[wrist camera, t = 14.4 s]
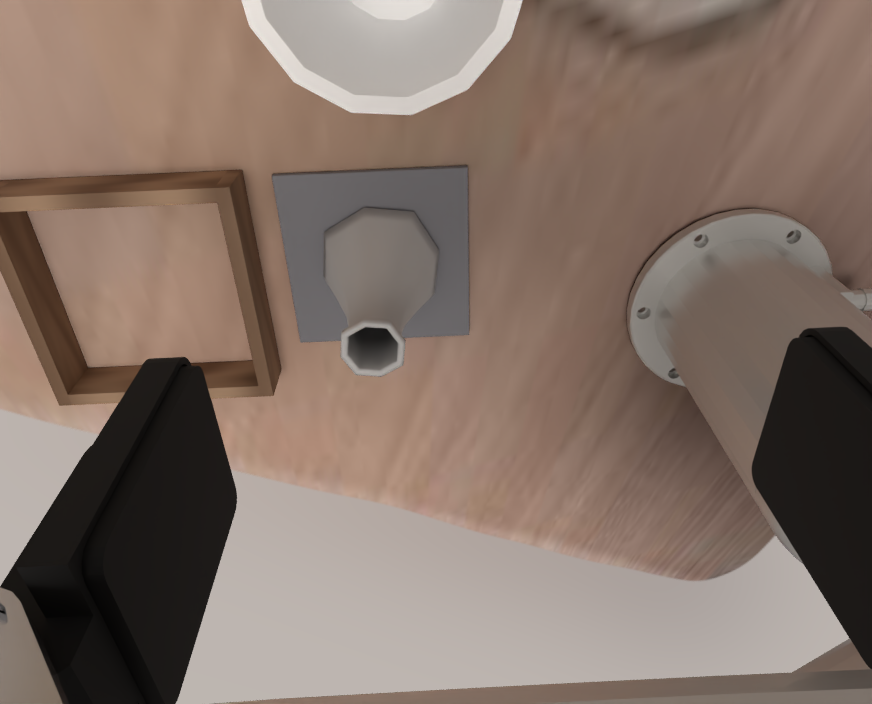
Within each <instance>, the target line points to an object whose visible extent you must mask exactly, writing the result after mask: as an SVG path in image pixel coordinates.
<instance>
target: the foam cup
mask: <svg viewBox="0 0 872 704" xmlns="http://www.w3.org/2000/svg"><path fill="white" fill-rule="evenodd" d="M522 1H523V0H242V3H243V7H244V10H245V13H246V17H247V20H248V23H249V26H250V28H251V29H252V30H253V31H254V33H255V34H256V35H257V36H258V38H259V39H260V40H261V41H262V43H263V44H264V45H265V47H266V48H267V49H268V50H269V52H270V53H271V54H272V55H273V57H274V58H275V59H276V60H277V62H278V63H279V64H280V65H281V67H282V68H283V69H284V70H285V72H286V73H287V74H288V75H289V77H290V78H291V79H292V80H293V82H294V83H296V84H298V85H300V86H302V87H304V88H306V89H308V90H309V91H311V92H313V93H315V94H317V95H319V96H321V97H323V98H324V99H326V100H328V101H330V102H332V103H334V104H336V105H338V106H339V107H341V108H343V109H345V110H347V111H349V112H351V113H371V114H395V115H413V114H415V113H418V112H420V111H422V110H424V109H426V108H429V107H431V106H433V105H435V104H437V103H440V102H442V101H444V100H446V99H449V98H451V97H453V96H455V95H457V94H460V93H462V92H464V91H466V90H468V89H469V88H470V86H471V85H472V84H473V83H474V82H475V81H476V79H477V78H478V77H479V76H480V75H481V73H482V72H483V71H484V70H485V69H486V68H487V66H488V65H489V64H490V63H491V62H492V61H493V59H494V58H495V57H496V56H497V55H498V53H499V52H500V51H501V50H502V49H503V48H504V46H505V45H506V44H507V43H508V42H509V40H510V39H511V37H512V33H513V30H514V27H515V24H516V20H517V17H518V14H519V11H520V8H521V4H522Z"/></svg>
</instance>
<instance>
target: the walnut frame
mask: <svg viewBox="0 0 872 704" xmlns="http://www.w3.org/2000/svg"><path fill="white" fill-rule="evenodd" d="M201 203H217V204H218V208H219V213H220V217H221V221H222V226H223V230H224V235H225V239H226V244H227V248H228V253H229V257H230V261H231V266H232V270H233V275H234V279H235V284H236V288H237V293H238V297H239V301H240V306H241V310H242V315H243V319H244V324H245V328H246V333H247V337H248V342H249V346H250V350H251V355H252V359H253V361H233V362H211V363H191V366H200V367H201V369H202V370H203V373H204V376H205V380H206V383H207V387H208V390H209V394H210V397H211V399H214V398H236V397H258V396H273V395H274V392H275V389H276V385H277V382H278V379H279V375H280V372H281V365H280V360H279V355H278V350H277V345H276V340H275V335H274V330H273V324H272V319H271V314H270V309H269V304H268V299H267V294H266V289H265V284H264V279H263V274H262V269H261V264H260V259H259V254H258V249H257V244H256V239H255V233H254V228H253V223H252V218H251V213H250V208H249V203H248V198H247V193H246V188H245V183H244V178H243V173H242V170H228V171H205V172H182V173H159V174H136V175H112V176H89V177H66V178H43V179H20V180H0V271H1V273H2V276H3V278H4V280H5V282H6V285H7V287H8V289H9V292H10V294H11V296H12V298H13V301H14V303H15V305H16V308H17V310H18V312H19V314H20V317H21V319H22V321H23V324H24V326H25V328H26V330H27V333H28V335H29V337H30V340H31V342H32V344H33V346H34V349H35V351H36V353H37V355H38V358H39V360H40V362H41V365H42V367H43V369H44V371H45V374H46V376H47V378H48V381H49V383H50V385H51V387H52V390H53V392H54V394H55V397H56V399H57V401H58V403H59V406H61V405H83V404H105V403H119V402H120V400H121V399H122V397H123V396H124V394H125V392H126V391H127V389H128V388H129V386H130V384H131V383H132V381H133V379H134V378H135V376H136V375H137V373H138V371H139V370H140V368H141V367H142V366H123V367H101V368H88V367H87V365H86V362H85V360H84V357H83V355H82V352H81V350H80V347H79V345H78V342H77V339H76V337H75V334H74V332H73V329H72V327H71V324H70V322H69V319H68V317H67V314H66V311H65V309H64V306H63V304H62V301H61V299H60V296H59V294H58V291H57V289H56V286H55V283H54V281H53V278H52V276H51V273H50V271H49V268H48V266H47V263H46V261H45V258H44V255H43V253H42V250H41V248H40V245H39V243H38V240H37V238H36V235H35V233H34V230H33V227H32V225H31V222H30V220H29V217H28V215H27V212H26V211H40V210H63V209H86V208H109V207H132V206H155V205H178V204H201Z"/></svg>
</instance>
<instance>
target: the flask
mask: <svg viewBox="0 0 872 704" xmlns="http://www.w3.org/2000/svg"><path fill="white" fill-rule="evenodd" d="M438 259H439V249H438V248H437V246H436V245H435V243H434V242H433V240H432V239H431V237H430V236H429V234H428V233H427V231H426V229H425V228H424V226H423V225H422V223H421V222H420V220H419V219H418V217H417V216H416V214H415V213H414V212H411V211H399V210H387V209H375V208H363V209H361V210H359V211H358V212H356V213H354V214H353V215H351V216H350V217H348V218H346V219H345V220H343V221H341V222H340V223H338V224H337V225H335V226H333V227H332V228H330V229H328V230H327V231H325V232H324V269H323V277H324V278H325V280H326V282H327V284H328V285H329V287H330V289H331V290H332V292H333V293H334V295H335V296H336V298H337V300H338V302H339V304H340V306H341V308H342V310H343V311H344V313H345V315H346V317H347V322H348V327H347V328H345V329H343V330H342V332H341V358H342V359H343V360H344V361H345V363H346V364H347V365H348V366H349V367H350V369H351V370H352V371H353V372H354V373H355V375H363V376H379V377H382V376H384V375H386V374H388V373H389V372H391V371H393V370H395V369H397V368H399V367H401V366H403V362H404V351H405V339H404V337H403V336H402V335H401V334H402V331H403V329H404V326H405V325H406V324H407V322H408V321H409V320H410V319H411V318H412V317H413V315H414V314H415V313H416V312H417V311H418V310H419V309H420V308H421V307H422V306H423V305H424V304H425V303H426V302H427V301H428V300H429V299H430V298H431V297H432V296H433V294H434V293H435V286H436V277H437V268H438Z"/></svg>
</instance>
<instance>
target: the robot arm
mask: <svg viewBox="0 0 872 704" xmlns="http://www.w3.org/2000/svg"><path fill="white" fill-rule="evenodd" d="M698 235H699V237H697V236H698ZM696 237H697V238H696ZM862 311H872V288H859V289H857V290H849V289H848V288H847V287H845V286H844V285H843V284H842V283H841V282H839V281H838V280H837V279H836V278H834V277H833V275H832V265H831V262H830V259H829V256H828V252H827V251H826V249H825V247H824V246H823V244H822V243H821V241H820V240H819V238H818V237H817V236H815V235H814V234H813V233H812V232H811V231H810V230H809V229H808V228H807V227H805V226H804V225H802V224H801V223H799V222H798V221H796V220H795V219H793V218H791V217H789V216H786V215H783V214H781V213H778V212H775V211H768V210H762V209H740V210H733V211H728V212H724V213H719V214H715V215H713V216H710V217H708V218H705V219H703V220H700V221H697V222H695V223H694V224H692V225H690V226H688V227H687V228H685V229H683V230H682V231H680V232H678V233H677V234H676V235H674V236H673V237H672V238H671V239H669V240H668V241H667V242H666V243H664V244H663V245H662V246H661V247H660V248H659V249H658V250H657V251H656V252H655V253H654V255H653V256H652V257H651V258H650V259H649V260H648V261H647V263H646V264H645V266H644V267H643V269H642V271H641V272H640V274H639V275H638V277H637V279H636V281H635V284H634V286H633V288H632V291H631V293H630V297H629V302H628V307H627V328H628V332H629V336H630V340H631V342H632V344H633V346H634V348H635V350H636V352H637V354H638V356H639V357H640V359H641V360H642V361H643V363H644V364H645V366H646V367H648V368H649V369H650V370H651V371H652V372H653V373H655V374H656V375H657V376H659V377H660V378H662V379H664V380H666V381H668V382H670V383H673V384H676V385H680V386H683V387H686V388H687V389H688V391H689V393H690V394H691V396H692V398H693V399H694V401H695V403H696V404H697V406H698V408H699V409H700V411H701V413H702V414H703V416H704V418H705V419H706V421H707V422H708V424H709V426H710V427H711V429H712V431H713V432H714V434H715V436H716V437H717V439H718V441H719V442H720V444H721V446H722V447H723V449H724V451H725V452H726V454H727V456H728V457H729V459H730V461H731V462H732V464H733V466H734V467H735V469H736V471H737V472H738V474H739V476H740V477H741V479H742V481H743V482H744V484H745V486H746V487H747V489H748V490H749V492H750V494H751V495H752V497H753V499H754V500H755V502H756V504H757V505H758V507H759V509H760V510H761V512H762V514H763V516H764V517H765V519H766V521H767V522H768V524H769V526H770V527H771V529H772V530H773V532H774V534H775V535H776V536H777V538H778V539H779V540H780V542H781V543H782V544H783V545H784V546H785V548H786V549H787V550H788V551H789V552H790V553H791V554H792V555H793V556H794V557H795V558H796V559H798V560H799V561H800V562H802V563H803V564H804V565H805V567H806V569H807V570H808V572H809V573H810V575H811V577H812V578H813V580H814V581H815V583H816V584H817V586H818V588H819V590H820V591H821V593H822V594H823V596H824V598H825V599H826V601H827V602H828V604H829V606H830V607H831V609H832V610H833V612H834V614H835V615H836V617H837V619H838V620H839V622H840V623H841V625H842V626H843V628H844V630H845V631H846V633H847V635H848V636H849V638H850V639H848V640H846V641H845V642H843V643H841V644H840V645H838V646H836V647H835V648H833V649H831V650H830V651H828V652H826V653H824V654H823V655H821V656H819V657H818V658H816V659H814V660H812V661H811V662H809V663H807V664H806V665H804V666H802V667H801V668H799V669H797V670H796V671H794V672H792V673H775V674H752V675H729V676H706V677H688V678H687V677H686V678H666V679H647V680H646V679H645V680H625V681H604V682H584V683H567V684H566V683H565V684H546V685H526V686H506V687H486V688H468V689H450V690H449V689H448V690H431V691H414V692H413V691H412V692H395V693H377V694H359V695H340V696H322V697H305V698H286V699H270V700H257V701H244V702H229V703H215V704H872V319H870V318H869V317H868V316H867V315H865V314H864V313H863V312H862ZM236 504H237V493H236V488H235V484H234V480H233V476H232V473H231V469H230V466H229V462H228V458H227V455H226V451H225V448H224V444H223V440H222V437H221V433H220V430H219V426H218V423H217V419H216V415H215V412H214V408H213V405H212V401H211V397H210V394H209V390H208V387H207V383H206V380H205V376H204V373H203V370H202V369H201V367H200V366H191V363H190V362H189V360H188V359H187V358H185V357H176V358H154V359H147V360H146V361H145V362H144V363H143V365H142V367H141V368H140V370H139V371H138V373H137V375H136V376H135V378H134V379H133V381H132V383H131V384H130V386H129V388H128V389H127V391H126V392H125V394H124V396H123V397H122V399H121V400H120V402H119V404H118V405H117V407H116V408H115V410H114V412H113V413H112V415H111V416H110V418H109V420H108V421H107V423H106V424H105V426H104V428H103V429H102V431H101V432H100V434H99V436H98V437H97V439H96V441H95V442H94V444H93V445H92V446H90V448H89V449H88V450H87V451H86V452H85V453H84V455H83V456H82V458H81V460H80V461H79V463H78V464H77V466H76V467H75V469H74V471H73V472H72V474H71V475H70V477H69V478H68V480H67V482H66V483H65V485H64V486H63V488H62V489H61V491H60V493H59V494H58V496H57V497H56V499H55V501H54V502H53V504H52V505H51V507H50V509H49V510H48V512H47V513H46V515H45V516H44V518H43V520H42V521H41V523H40V525H39V526H38V528H37V529H36V531H35V532H34V534H33V535H32V537H31V539H30V540H29V542H28V543H27V545H26V547H25V548H24V550H23V552H22V553H21V555H20V556H19V558H18V559H17V561H16V562H15V564H14V566H13V567H12V569H11V571H10V572H9V574H8V575H7V577H6V578H5V580H4V581H3V583H2V585H1V586H0V704H175V703H176V701H177V699H178V697H179V694H180V690H181V687H182V683H183V681H184V677H185V674H186V670H187V667H188V664H189V661H190V658H191V654H192V651H193V648H194V644H195V641H196V638H197V635H198V632H199V628H200V625H201V622H202V618H203V615H204V612H205V609H206V605H207V602H208V599H209V595H210V592H211V589H212V586H213V582H214V579H215V576H216V573H217V569H218V566H219V563H220V560H221V556H222V553H223V549H224V547H225V543H226V540H227V537H228V534H229V530H230V527H231V524H232V520H233V517H234V513H235V510H236Z"/></svg>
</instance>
